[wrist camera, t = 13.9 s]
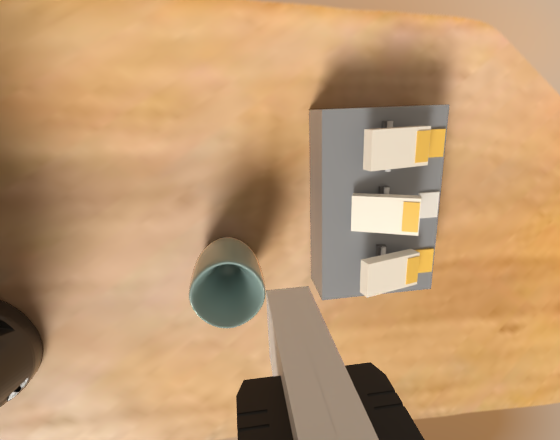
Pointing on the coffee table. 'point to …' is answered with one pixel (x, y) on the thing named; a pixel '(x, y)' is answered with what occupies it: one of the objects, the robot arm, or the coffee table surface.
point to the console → (353, 179)
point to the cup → (227, 284)
